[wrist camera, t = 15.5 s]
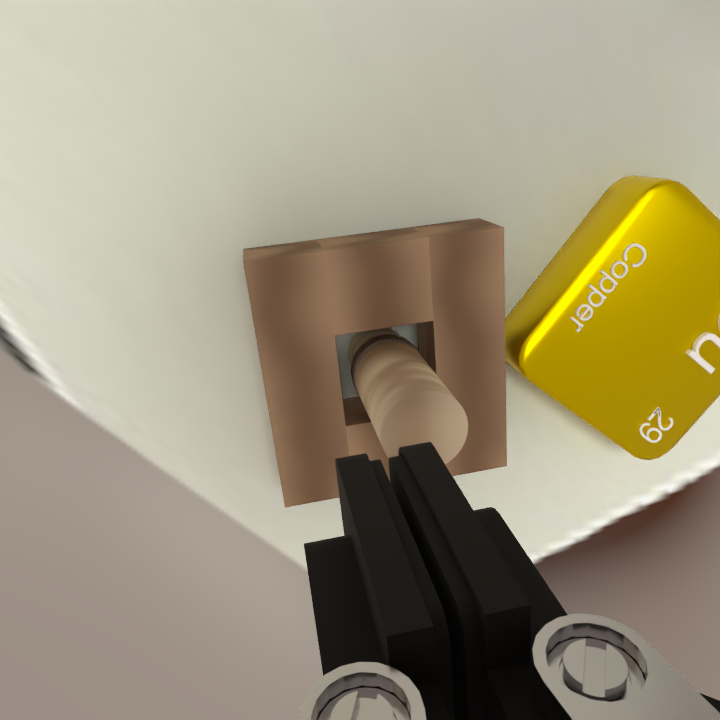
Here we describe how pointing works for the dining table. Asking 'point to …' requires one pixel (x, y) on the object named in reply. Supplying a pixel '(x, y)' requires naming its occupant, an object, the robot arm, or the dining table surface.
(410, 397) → the peg
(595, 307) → the element tile
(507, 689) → the robot arm
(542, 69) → the dining table surface
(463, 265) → the board
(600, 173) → the dining table surface
